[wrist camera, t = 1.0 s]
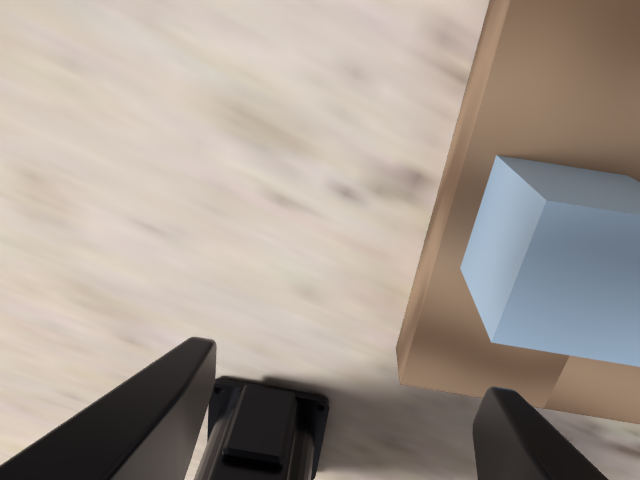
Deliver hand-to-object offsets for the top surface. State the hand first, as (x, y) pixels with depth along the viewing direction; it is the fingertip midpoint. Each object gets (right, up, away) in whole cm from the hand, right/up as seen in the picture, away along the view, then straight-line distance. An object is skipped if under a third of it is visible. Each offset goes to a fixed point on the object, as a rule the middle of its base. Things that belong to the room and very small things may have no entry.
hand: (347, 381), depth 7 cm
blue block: (+8, +3, +8) cm, 12 cm away
